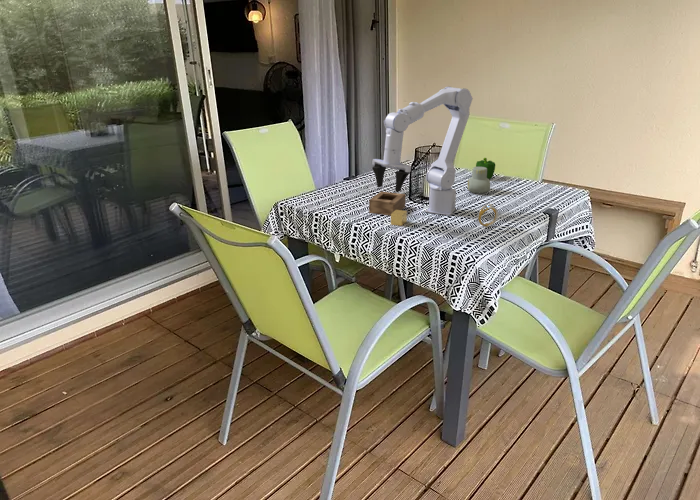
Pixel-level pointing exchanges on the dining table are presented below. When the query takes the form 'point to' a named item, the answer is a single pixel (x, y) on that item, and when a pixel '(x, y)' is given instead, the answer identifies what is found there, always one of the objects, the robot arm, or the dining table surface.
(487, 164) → the bell pepper
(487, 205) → the bracelet
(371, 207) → the wooden box
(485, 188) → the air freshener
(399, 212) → the yellow cube
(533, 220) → the dining table surface
